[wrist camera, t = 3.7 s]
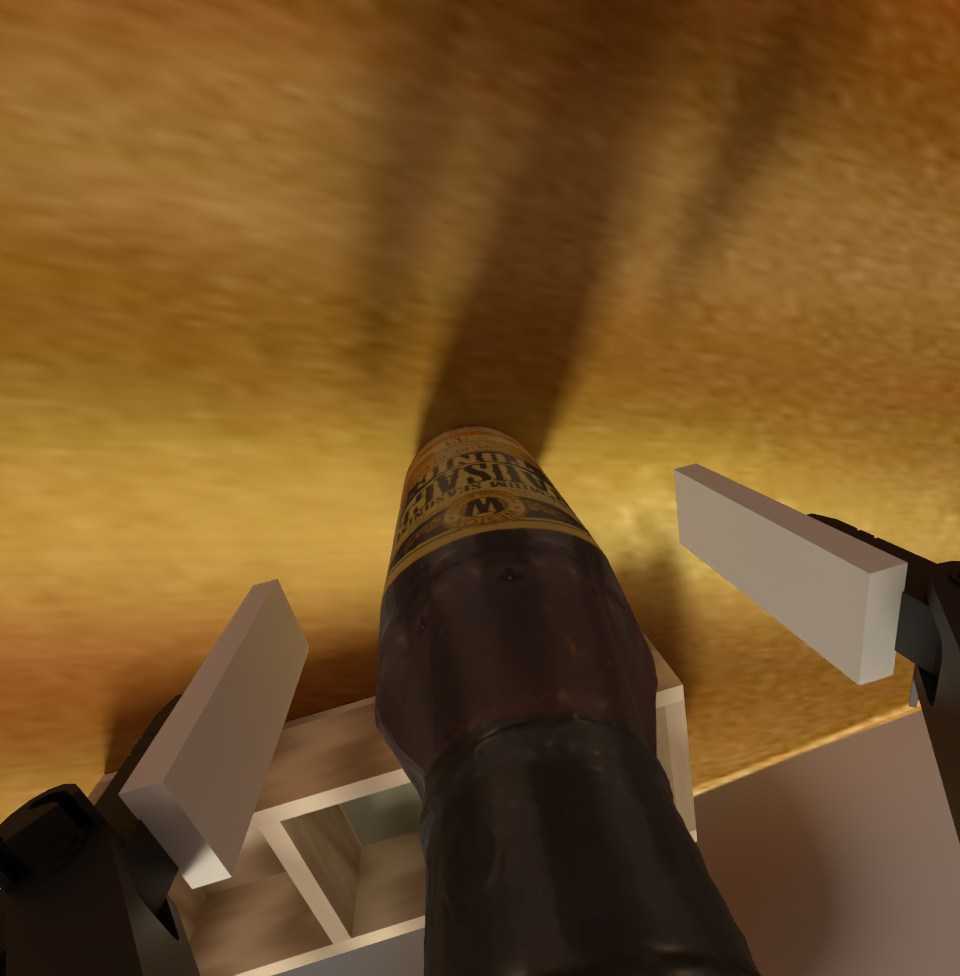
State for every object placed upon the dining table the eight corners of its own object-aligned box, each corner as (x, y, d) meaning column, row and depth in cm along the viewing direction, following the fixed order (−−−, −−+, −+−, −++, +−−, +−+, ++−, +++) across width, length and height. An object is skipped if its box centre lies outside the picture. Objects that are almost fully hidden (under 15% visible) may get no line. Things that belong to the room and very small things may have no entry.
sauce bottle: (524, 409, 21) (1448, 1066, 2) (535, 528, 23) (1045, 1369, 4) (385, 430, 20) (23, 1546, 2) (410, 550, 22) (376, 1618, 4)
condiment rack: (634, 620, 26) (682, 684, 21) (653, 761, 30) (696, 841, 25) (103, 775, 24) (29, 879, 20) (201, 900, 29) (159, 1010, 24)
